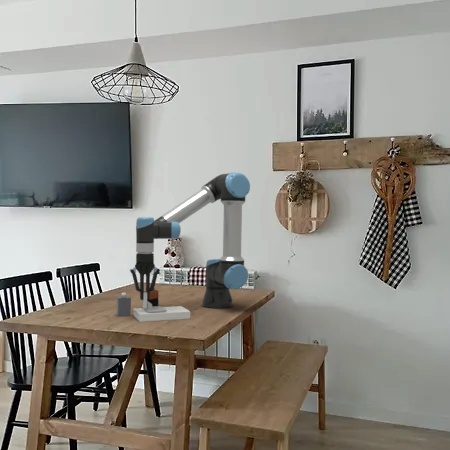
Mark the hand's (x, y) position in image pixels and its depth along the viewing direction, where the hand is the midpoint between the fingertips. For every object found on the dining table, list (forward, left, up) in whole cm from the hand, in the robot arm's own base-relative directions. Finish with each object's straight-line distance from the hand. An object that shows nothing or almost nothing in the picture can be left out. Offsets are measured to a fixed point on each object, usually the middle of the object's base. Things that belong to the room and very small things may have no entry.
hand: (144, 307), depth 223 cm
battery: (-6, -17, -5) cm, 19 cm away
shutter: (-4, 0, -1) cm, 5 cm away
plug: (+8, -9, -5) cm, 13 cm away
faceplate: (-7, 0, -5) cm, 9 cm away
